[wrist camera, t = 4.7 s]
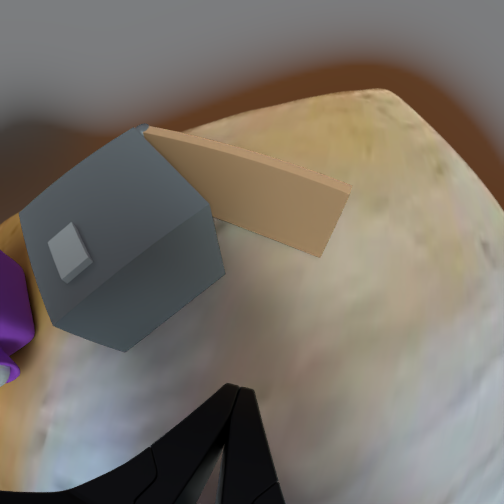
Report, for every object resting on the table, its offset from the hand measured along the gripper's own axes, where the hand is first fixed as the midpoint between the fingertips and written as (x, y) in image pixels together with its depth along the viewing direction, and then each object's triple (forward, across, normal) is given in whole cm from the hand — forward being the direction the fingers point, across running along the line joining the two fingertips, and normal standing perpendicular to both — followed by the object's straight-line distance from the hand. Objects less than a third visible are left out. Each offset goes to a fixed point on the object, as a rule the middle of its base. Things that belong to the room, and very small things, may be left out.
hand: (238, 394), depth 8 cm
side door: (+19, +5, 0) cm, 20 cm away
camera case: (+15, +11, +5) cm, 19 cm away
